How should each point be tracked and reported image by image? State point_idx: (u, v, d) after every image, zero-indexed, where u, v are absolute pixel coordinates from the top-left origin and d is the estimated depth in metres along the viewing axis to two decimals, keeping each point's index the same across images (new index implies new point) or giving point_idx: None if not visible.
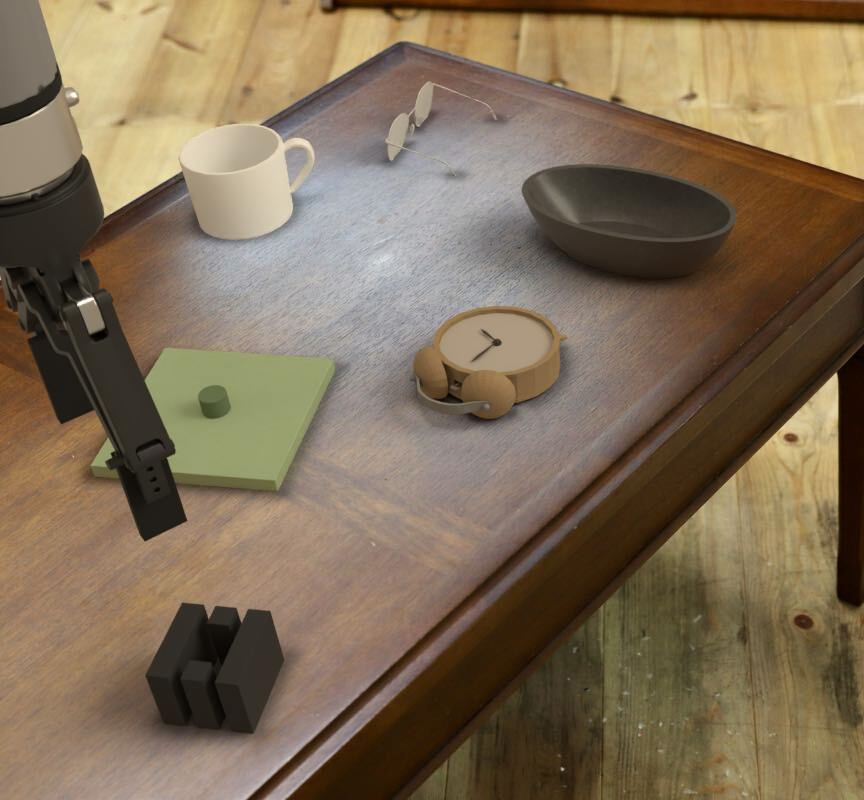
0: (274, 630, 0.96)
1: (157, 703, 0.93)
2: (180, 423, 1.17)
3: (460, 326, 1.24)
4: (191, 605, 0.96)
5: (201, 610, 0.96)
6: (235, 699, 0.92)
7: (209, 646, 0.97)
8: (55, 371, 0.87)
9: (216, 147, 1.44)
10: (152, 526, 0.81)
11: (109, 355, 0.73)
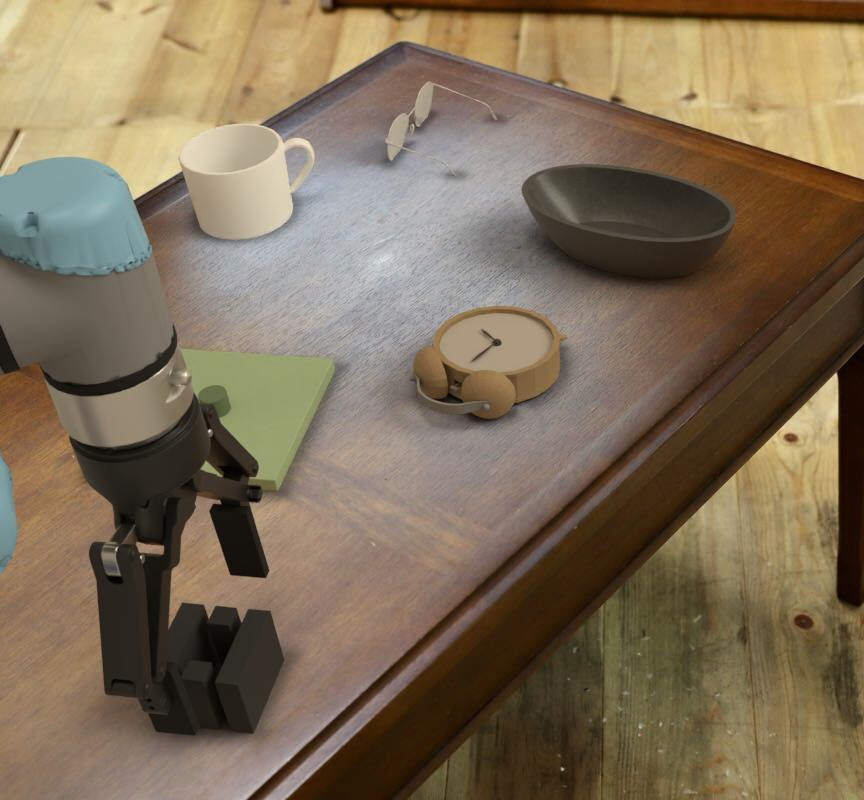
0: (274, 630, 0.96)
1: None
2: None
3: (460, 326, 1.24)
4: (191, 605, 0.96)
5: (201, 610, 0.96)
6: (235, 699, 0.92)
7: (209, 646, 0.97)
8: (228, 537, 0.96)
9: (216, 147, 1.44)
10: (163, 725, 0.88)
11: (118, 598, 0.80)
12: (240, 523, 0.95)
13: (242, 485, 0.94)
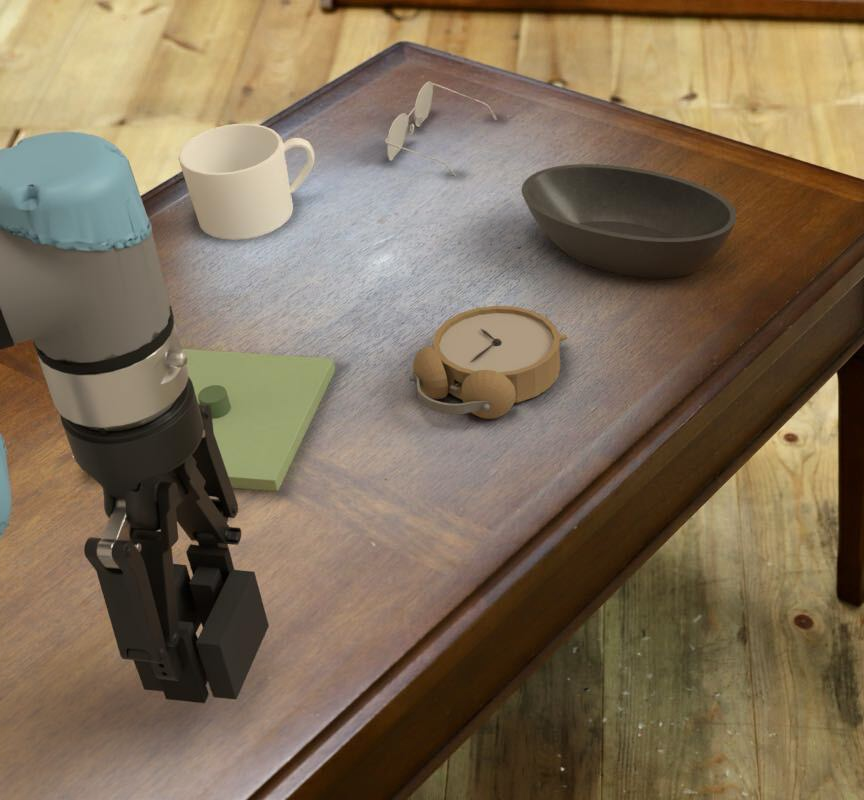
0: (258, 592, 0.94)
1: (136, 665, 0.90)
2: None
3: (460, 326, 1.24)
4: (173, 565, 0.93)
5: (183, 571, 0.93)
6: (216, 661, 0.89)
7: (190, 609, 0.95)
8: None
9: (216, 147, 1.44)
10: (173, 692, 0.91)
11: (120, 586, 0.80)
12: (218, 565, 0.93)
13: (223, 521, 0.92)
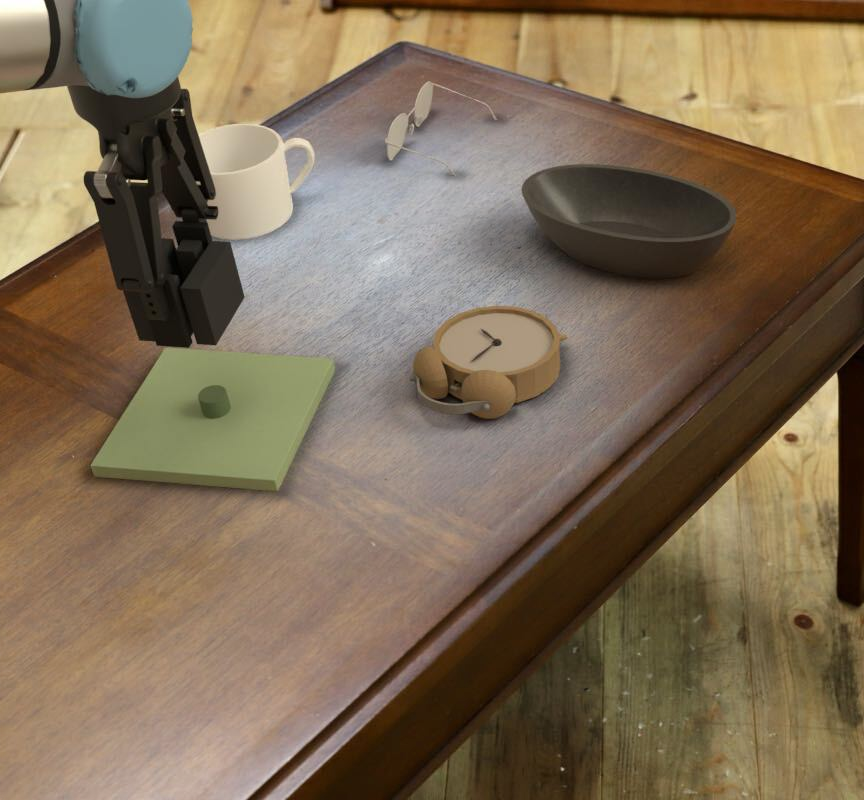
0: (234, 262, 1.11)
1: (132, 315, 1.08)
2: (180, 423, 1.17)
3: (460, 326, 1.24)
4: (162, 239, 1.11)
5: (171, 243, 1.10)
6: (198, 305, 1.06)
7: None
8: None
9: (216, 147, 1.44)
10: (162, 338, 1.08)
11: (114, 216, 0.98)
12: (199, 237, 1.10)
13: (202, 197, 1.09)
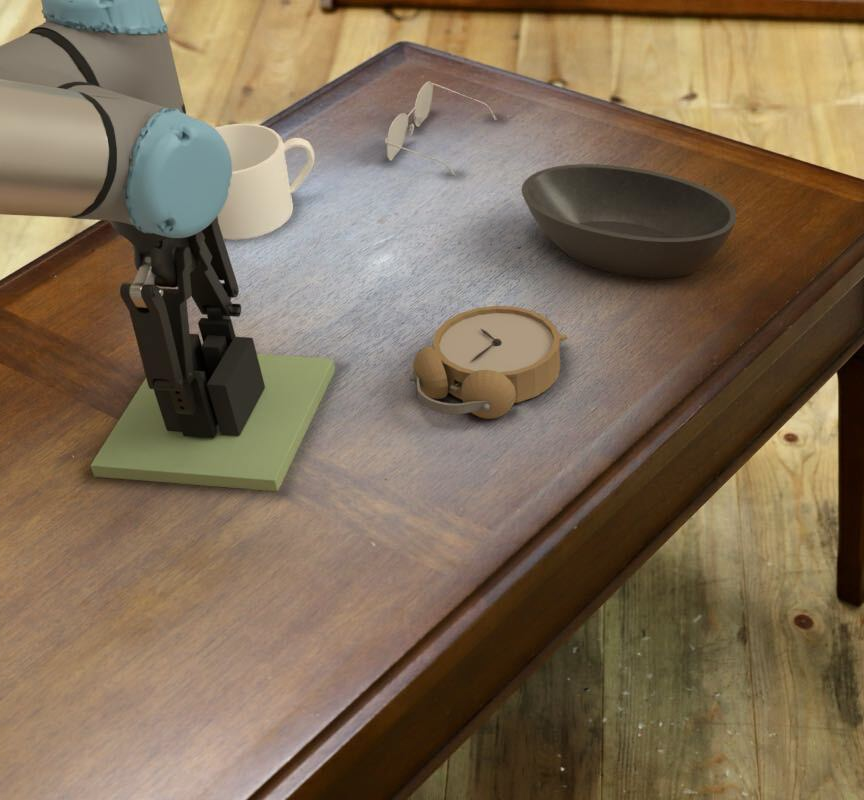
0: (256, 356, 1.18)
1: (160, 407, 1.15)
2: None
3: (460, 326, 1.24)
4: None
5: (196, 338, 1.17)
6: (223, 400, 1.13)
7: None
8: None
9: None
10: (189, 429, 1.15)
11: (147, 323, 1.05)
12: (223, 333, 1.17)
13: (226, 296, 1.16)
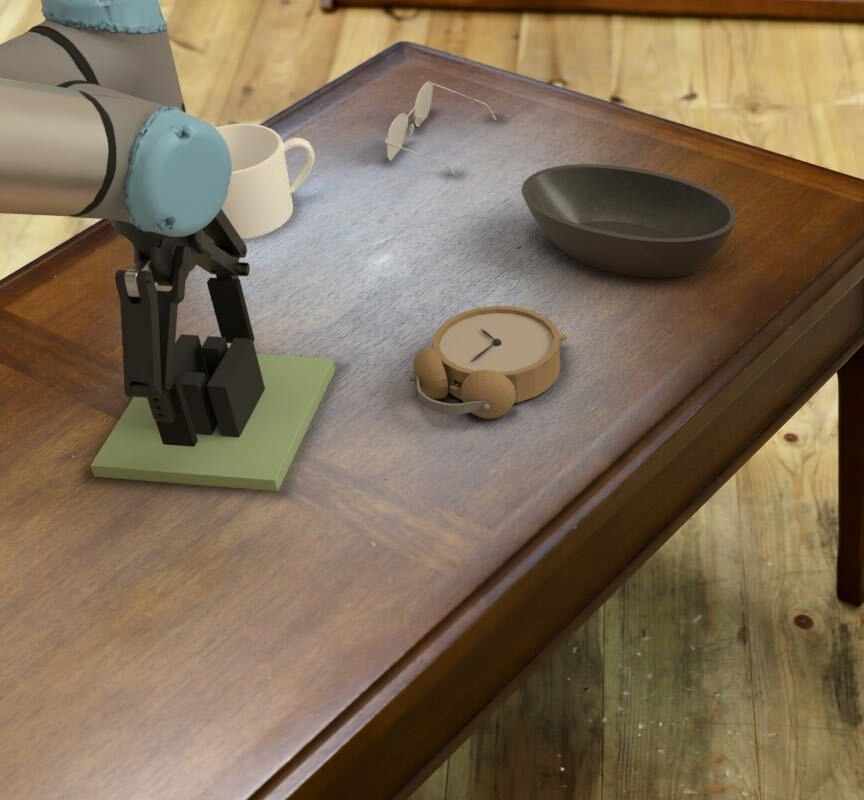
0: (256, 357, 1.18)
1: None
2: None
3: (460, 326, 1.24)
4: (188, 336, 1.18)
5: (196, 339, 1.17)
6: (223, 401, 1.13)
7: (202, 372, 1.19)
8: (221, 306, 1.20)
9: None
10: (168, 437, 1.11)
11: (136, 315, 1.03)
12: (231, 293, 1.18)
13: (233, 260, 1.17)
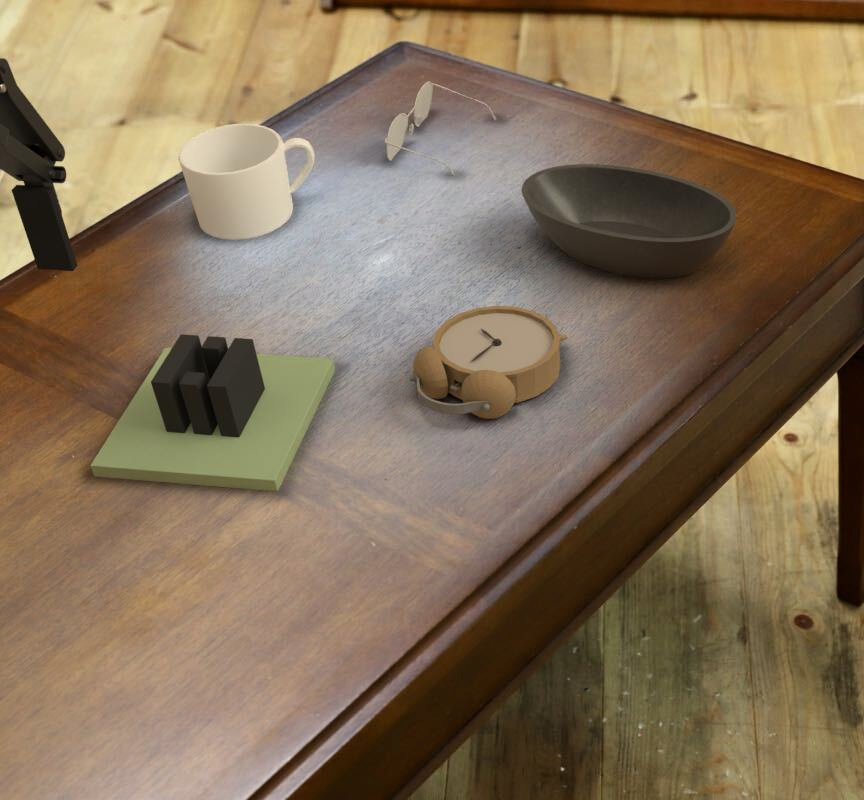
0: (256, 357, 1.18)
1: (160, 409, 1.15)
2: None
3: (460, 326, 1.24)
4: (188, 336, 1.18)
5: (196, 339, 1.17)
6: (223, 401, 1.13)
7: (202, 372, 1.19)
8: (32, 222, 0.97)
9: (216, 147, 1.44)
10: None
11: None
12: (43, 204, 0.96)
13: (43, 161, 0.94)
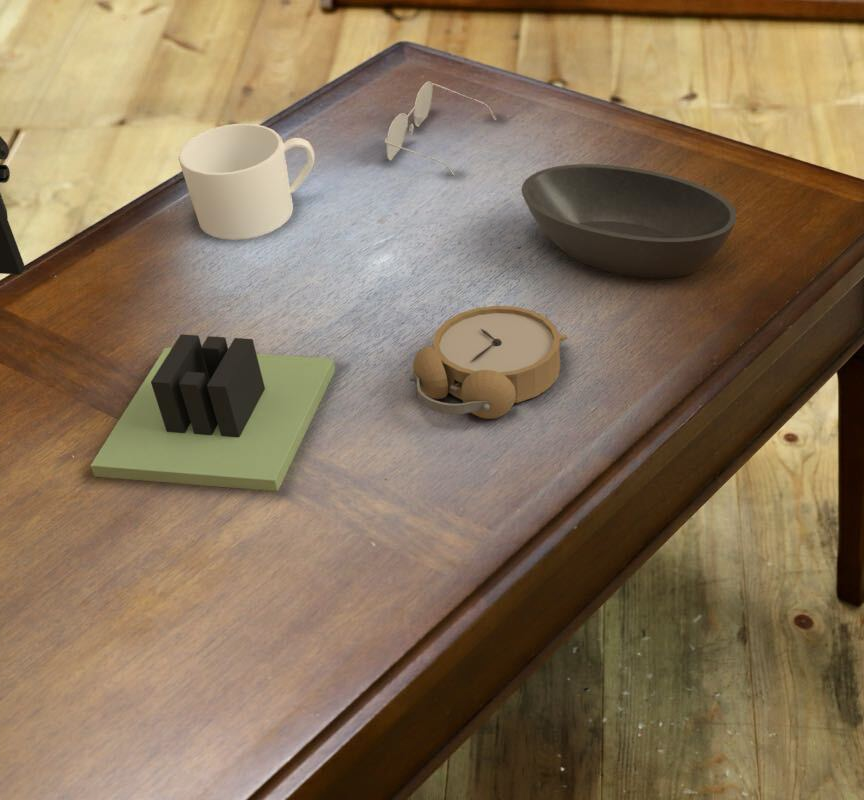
0: (256, 357, 1.18)
1: (160, 409, 1.15)
2: None
3: (460, 326, 1.24)
4: (188, 336, 1.18)
5: (196, 339, 1.17)
6: (223, 401, 1.13)
7: (202, 372, 1.19)
8: None
9: (216, 147, 1.44)
10: None
11: None
12: None
13: None
